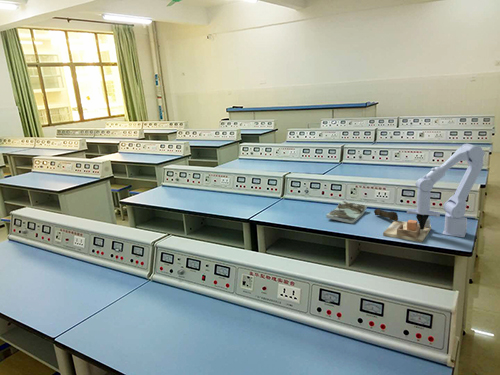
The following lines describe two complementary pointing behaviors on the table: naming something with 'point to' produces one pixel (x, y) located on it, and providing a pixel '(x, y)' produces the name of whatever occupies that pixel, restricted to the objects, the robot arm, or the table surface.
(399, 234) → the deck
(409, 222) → the terracotta block
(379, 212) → the hand tool
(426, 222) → the grey peg
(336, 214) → the topographical model
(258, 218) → the table surface
